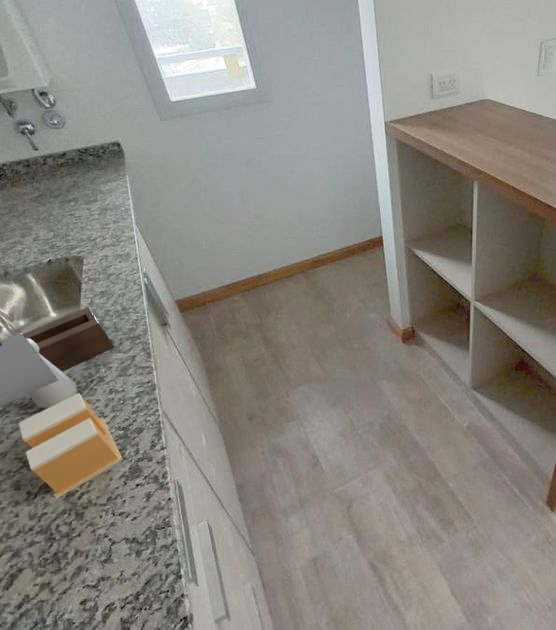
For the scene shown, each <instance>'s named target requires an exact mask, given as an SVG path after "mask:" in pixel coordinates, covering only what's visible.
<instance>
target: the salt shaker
mask: <svg viewBox="0 0 556 630" xmlns="http://www.w3.org/2000/svg"><path fill="white" fill-rule="evenodd" d="M26 339H27V340H28V342H29V343H30V344H31V346H32V347H33V348H34V349H35V351H36V352H37V353H38V352H39V346H38V345H37V344H36V343H35V342H34V341H33V340H32V339H28V338H26ZM38 355H39V356H40V357H41V358H42V360H43V361H44V362H45V364H46V365H47V366H48V367H49V369H50V370H51V371H52V373H53V374H54V375H55V376H56V378H57V379H58V381H56V382H54V383H52V384H49V385H47V386H45V387H43V388H41V389H38V390H36V391H34V392H32V393H30V394H29V396H30V398H31V399H32V401H33V403H34V404H35V405H36V406H37V407H39V408H40V409H43V410H46V409H48V408H50V407H52V406H54V405H56V404H58V403H60V402H62V401H64V400H66V399H68V398H70V397H72V396H74V395H76V394H78V389H77V388H78V385H77V383H76V382H75V381H74V380H73V379H72V378H71V377H69V376H68V375H66V373H64V371H63V372H62V371H60V370H59V369H58V368H57V367H55V366H54V365H53V364H52V363H50V362H49V361H48V360H47V359H45V358H44V357H43V356H42V355H41V354H39V353H38Z"/></svg>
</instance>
